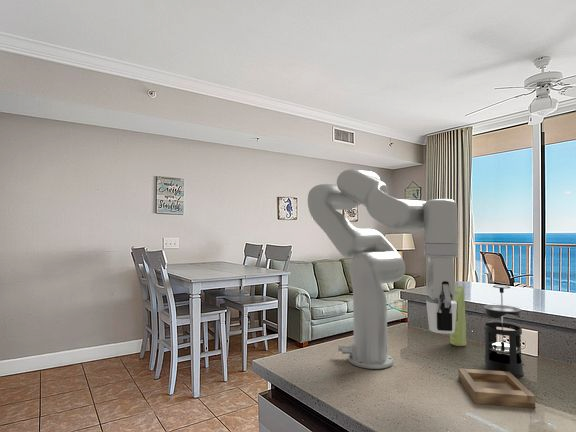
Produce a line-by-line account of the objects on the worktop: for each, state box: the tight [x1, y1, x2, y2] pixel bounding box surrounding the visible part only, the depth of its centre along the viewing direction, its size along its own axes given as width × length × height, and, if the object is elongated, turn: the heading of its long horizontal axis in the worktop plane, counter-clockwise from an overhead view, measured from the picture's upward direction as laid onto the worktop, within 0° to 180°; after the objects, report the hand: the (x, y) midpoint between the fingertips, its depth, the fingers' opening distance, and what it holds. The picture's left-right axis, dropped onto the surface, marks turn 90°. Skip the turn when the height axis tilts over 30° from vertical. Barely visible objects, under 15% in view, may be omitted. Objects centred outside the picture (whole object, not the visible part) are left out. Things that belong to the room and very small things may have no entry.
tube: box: [449, 285, 467, 347], centre depth 124 cm, size 6×5×20 cm
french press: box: [483, 284, 525, 379], centre depth 102 cm, size 12×9×23 cm
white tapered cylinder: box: [425, 298, 457, 335], centre depth 89 cm, size 7×7×7 cm
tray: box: [458, 368, 536, 409], centre depth 88 cm, size 12×14×2 cm
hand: (441, 325), depth 89 cm, fingers closed on white tapered cylinder, 6 cm apart
